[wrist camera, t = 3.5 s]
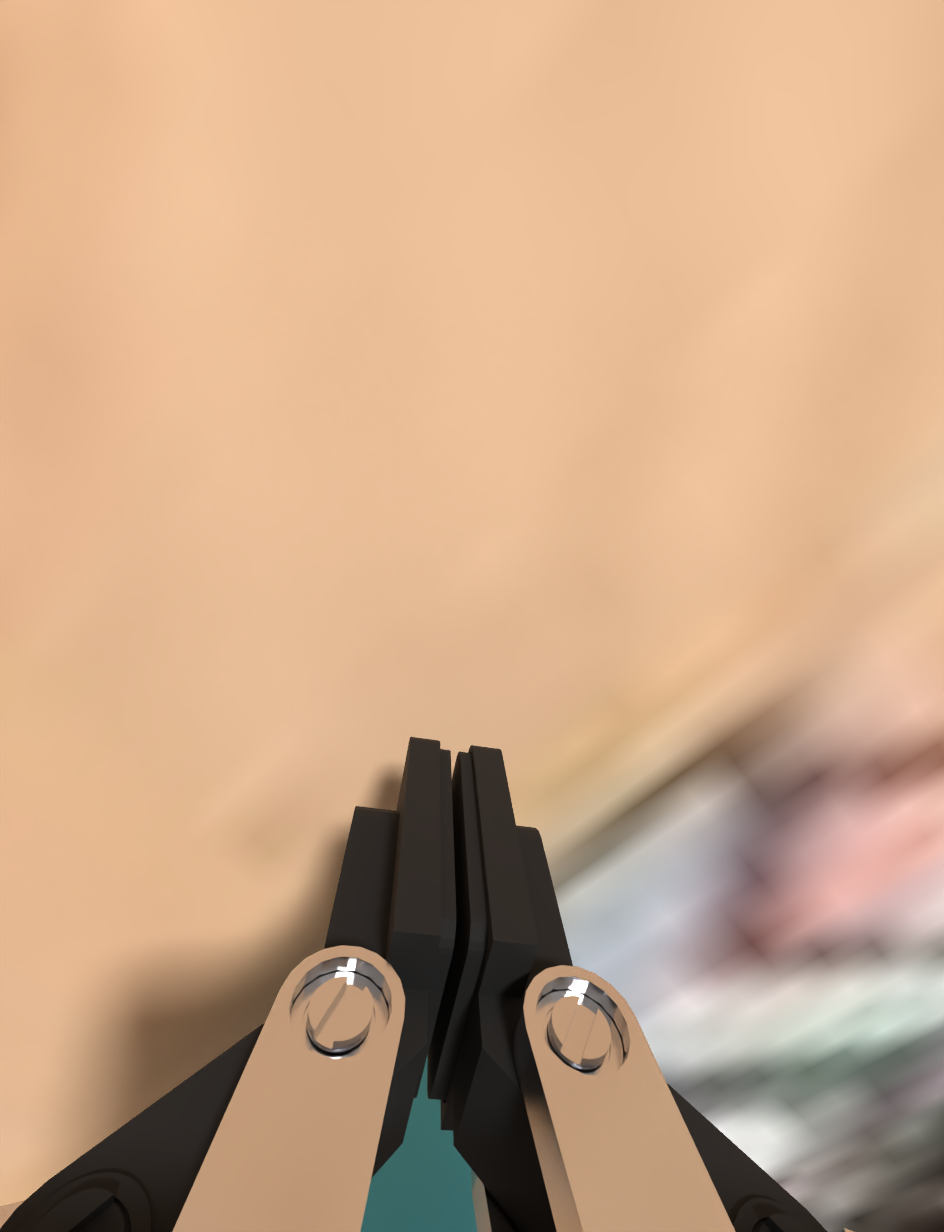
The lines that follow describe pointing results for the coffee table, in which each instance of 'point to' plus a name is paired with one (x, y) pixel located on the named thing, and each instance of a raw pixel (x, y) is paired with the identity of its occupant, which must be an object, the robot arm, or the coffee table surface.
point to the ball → (422, 1179)
